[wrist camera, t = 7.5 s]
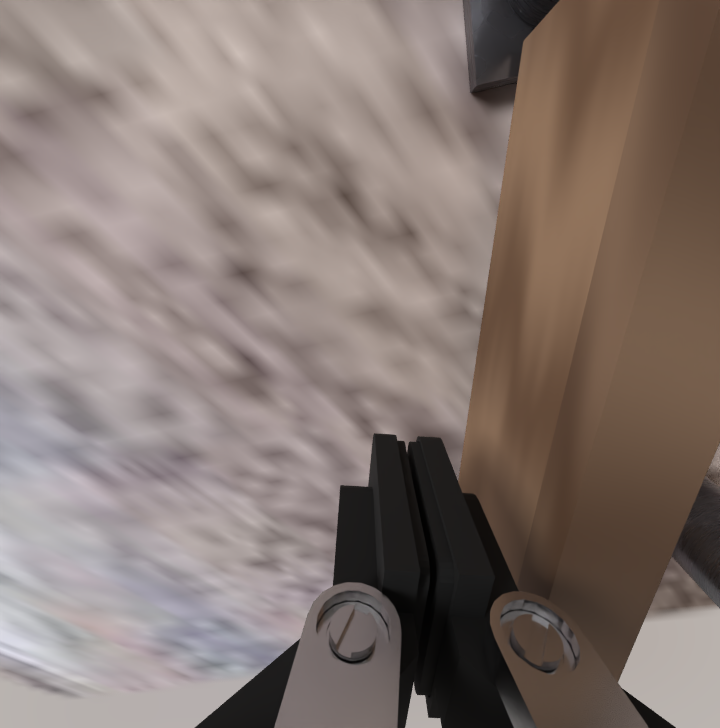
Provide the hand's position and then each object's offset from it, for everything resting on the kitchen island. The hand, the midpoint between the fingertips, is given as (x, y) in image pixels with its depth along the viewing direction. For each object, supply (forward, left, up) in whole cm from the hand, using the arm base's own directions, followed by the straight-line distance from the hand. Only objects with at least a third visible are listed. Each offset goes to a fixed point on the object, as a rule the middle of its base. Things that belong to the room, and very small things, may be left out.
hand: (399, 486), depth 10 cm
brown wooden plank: (-4, -1, -3) cm, 5 cm away
